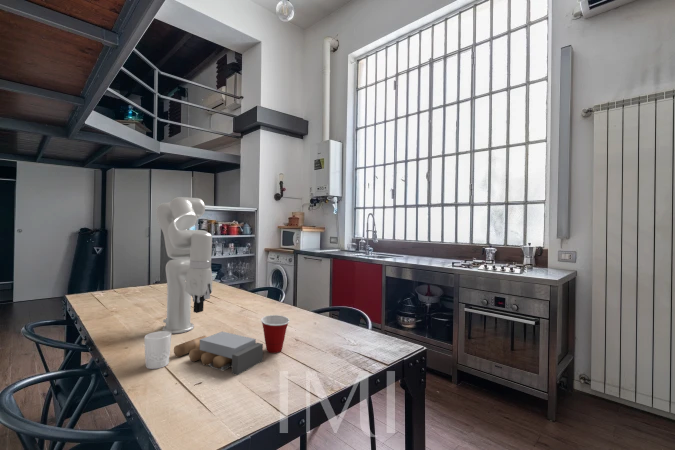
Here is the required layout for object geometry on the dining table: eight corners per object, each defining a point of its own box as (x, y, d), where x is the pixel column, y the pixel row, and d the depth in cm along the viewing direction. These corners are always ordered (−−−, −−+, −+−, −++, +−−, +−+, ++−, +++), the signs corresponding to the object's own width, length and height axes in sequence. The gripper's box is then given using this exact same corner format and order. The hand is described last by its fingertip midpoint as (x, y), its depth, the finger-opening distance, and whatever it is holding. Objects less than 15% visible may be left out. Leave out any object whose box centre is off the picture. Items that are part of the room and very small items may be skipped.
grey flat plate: (209, 366, 107) (209, 363, 107) (235, 354, 118) (235, 351, 118) (222, 370, 104) (222, 367, 104) (248, 357, 115) (248, 354, 115)
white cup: (151, 372, 102) (152, 340, 102) (138, 366, 106) (139, 335, 106) (175, 363, 109) (176, 334, 109) (162, 358, 113) (163, 329, 113)
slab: (199, 349, 110) (199, 339, 110) (221, 340, 119) (222, 331, 119) (234, 359, 103) (234, 348, 103) (255, 349, 112) (255, 339, 112)
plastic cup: (274, 358, 114) (274, 324, 114) (254, 351, 121) (254, 319, 121) (295, 349, 123) (295, 318, 123) (275, 342, 129) (276, 313, 130)
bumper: (231, 373, 102) (232, 354, 102) (257, 359, 113) (257, 342, 113) (237, 375, 101) (237, 356, 101) (262, 361, 112) (262, 343, 112)
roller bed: (173, 355, 115) (173, 344, 115) (201, 345, 126) (201, 334, 126) (209, 366, 107) (209, 354, 107) (235, 354, 117) (236, 343, 118)
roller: (215, 354, 106) (221, 361, 104) (241, 343, 116) (248, 349, 115) (211, 363, 106) (218, 370, 105) (238, 351, 117) (245, 357, 115)
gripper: (178, 263, 123) (176, 310, 124) (205, 268, 116) (203, 318, 117) (195, 260, 130) (193, 305, 130) (222, 266, 123) (219, 313, 123)
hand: (198, 311), depth 124 cm, fingers closed
